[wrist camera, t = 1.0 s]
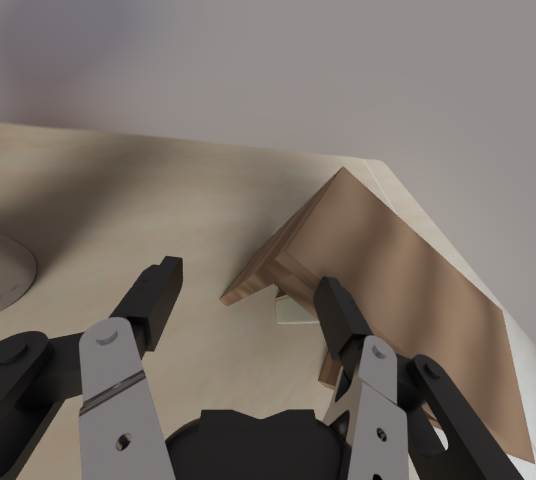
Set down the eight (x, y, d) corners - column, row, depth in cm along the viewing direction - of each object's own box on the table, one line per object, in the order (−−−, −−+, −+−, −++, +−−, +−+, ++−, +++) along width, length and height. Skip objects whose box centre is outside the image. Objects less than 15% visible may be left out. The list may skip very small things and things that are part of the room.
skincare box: (304, 299, 35) (354, 286, 25) (306, 325, 33) (362, 322, 23) (273, 297, 33) (316, 283, 23) (274, 325, 31) (321, 322, 21)
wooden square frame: (219, 299, 29) (285, 250, 11) (260, 247, 36) (343, 166, 18) (325, 386, 30) (535, 464, 13) (346, 320, 37) (502, 310, 19)
